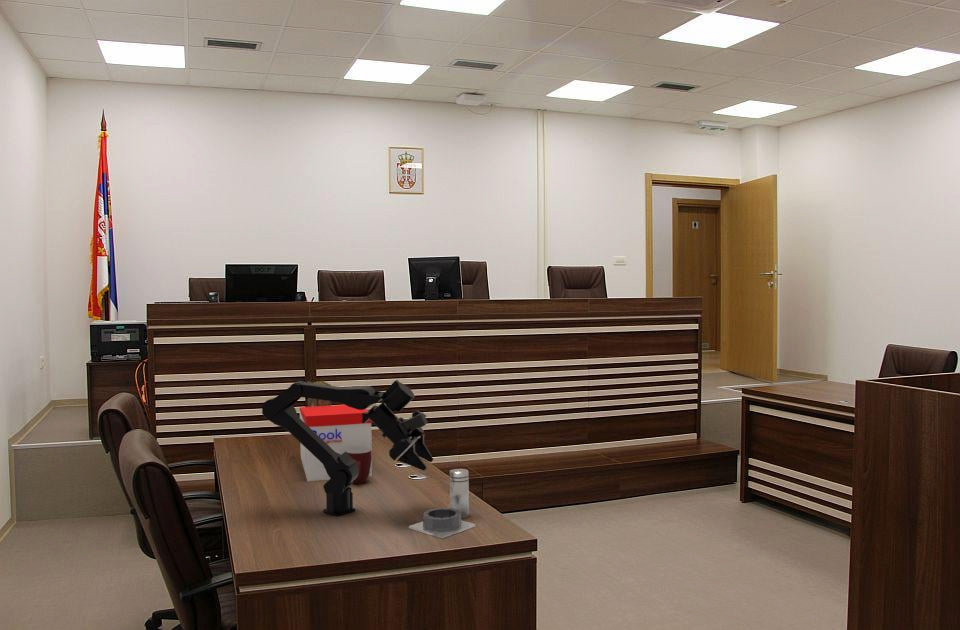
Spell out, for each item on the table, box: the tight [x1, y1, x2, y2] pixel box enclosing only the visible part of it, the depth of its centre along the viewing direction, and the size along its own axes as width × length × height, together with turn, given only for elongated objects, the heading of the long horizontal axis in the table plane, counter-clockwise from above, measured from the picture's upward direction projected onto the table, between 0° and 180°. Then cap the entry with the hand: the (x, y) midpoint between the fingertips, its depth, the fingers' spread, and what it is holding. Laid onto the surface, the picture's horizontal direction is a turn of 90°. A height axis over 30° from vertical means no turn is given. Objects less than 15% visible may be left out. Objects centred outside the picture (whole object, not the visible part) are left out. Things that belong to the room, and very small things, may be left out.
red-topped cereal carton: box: [299, 404, 373, 482], centre depth 256 cm, size 21×35×21 cm, turn 17°
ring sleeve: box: [408, 507, 476, 539], centre depth 191 cm, size 12×12×4 cm
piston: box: [449, 468, 470, 519], centre depth 201 cm, size 5×5×12 cm
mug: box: [346, 448, 373, 485], centre depth 234 cm, size 11×8×10 cm
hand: (428, 465), depth 201 cm, fingers open, 9 cm apart
